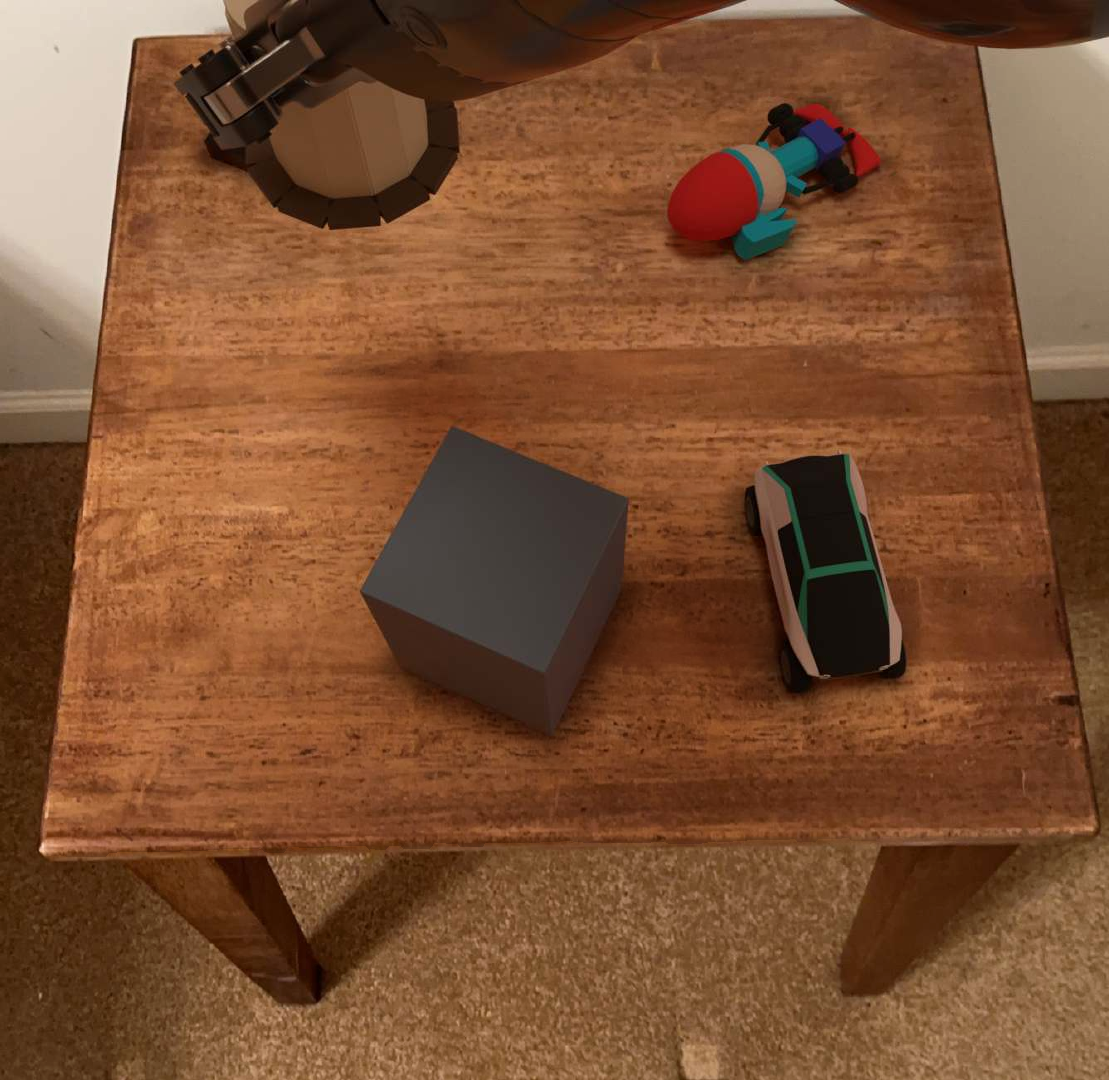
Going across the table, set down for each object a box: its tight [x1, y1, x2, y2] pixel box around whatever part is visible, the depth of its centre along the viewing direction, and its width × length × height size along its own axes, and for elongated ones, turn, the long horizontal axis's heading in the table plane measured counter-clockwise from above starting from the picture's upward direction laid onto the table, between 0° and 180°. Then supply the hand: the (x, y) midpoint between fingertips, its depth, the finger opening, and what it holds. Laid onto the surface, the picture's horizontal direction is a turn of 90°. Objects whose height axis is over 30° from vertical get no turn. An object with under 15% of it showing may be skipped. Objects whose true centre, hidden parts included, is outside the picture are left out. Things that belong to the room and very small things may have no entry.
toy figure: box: [667, 102, 882, 261], centre depth 72 cm, size 8×5×15 cm
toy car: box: [744, 450, 907, 694], centre depth 61 cm, size 6×12×5 cm, turn 8°
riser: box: [359, 425, 630, 737], centre depth 58 cm, size 9×9×12 cm
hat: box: [222, 0, 461, 231], centre depth 43 cm, size 8×8×8 cm
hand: (301, 35), depth 43 cm, fingers closed on hat, 6 cm apart
